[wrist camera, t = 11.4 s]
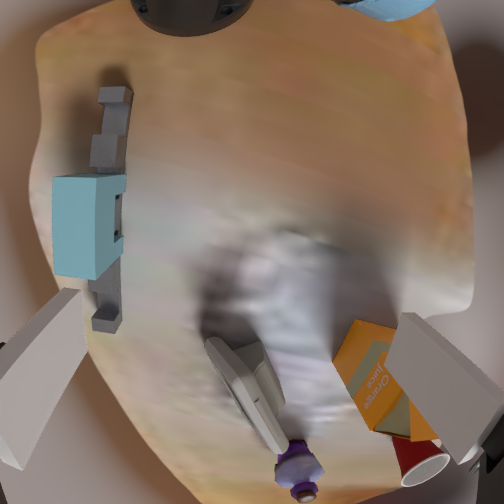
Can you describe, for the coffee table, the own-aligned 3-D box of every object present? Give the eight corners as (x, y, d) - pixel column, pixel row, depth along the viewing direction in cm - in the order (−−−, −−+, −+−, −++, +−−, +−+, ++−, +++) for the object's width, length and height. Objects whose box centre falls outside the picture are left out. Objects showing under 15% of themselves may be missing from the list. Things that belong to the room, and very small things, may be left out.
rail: (110, 93, 29) (99, 87, 26) (133, 93, 30) (125, 86, 26) (101, 317, 37) (92, 330, 33) (122, 320, 37) (114, 333, 34)
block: (90, 172, 31) (52, 177, 22) (126, 174, 31) (96, 177, 23) (89, 249, 33) (54, 274, 24) (123, 252, 34) (96, 280, 25)
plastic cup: (381, 430, 49) (406, 472, 37) (427, 409, 49) (455, 446, 38) (378, 456, 52) (398, 495, 41) (420, 438, 52) (443, 472, 41)
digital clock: (201, 330, 39) (197, 382, 28) (270, 318, 39) (287, 367, 29) (226, 415, 43) (230, 468, 33) (283, 405, 44) (297, 456, 33)
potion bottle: (258, 452, 47) (268, 505, 35) (294, 428, 45) (311, 482, 34) (290, 465, 49) (303, 513, 37) (324, 442, 48) (343, 491, 36)
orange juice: (376, 370, 44) (438, 458, 25) (331, 362, 42) (387, 466, 23) (400, 329, 42) (478, 409, 23) (355, 317, 40) (433, 412, 21)
